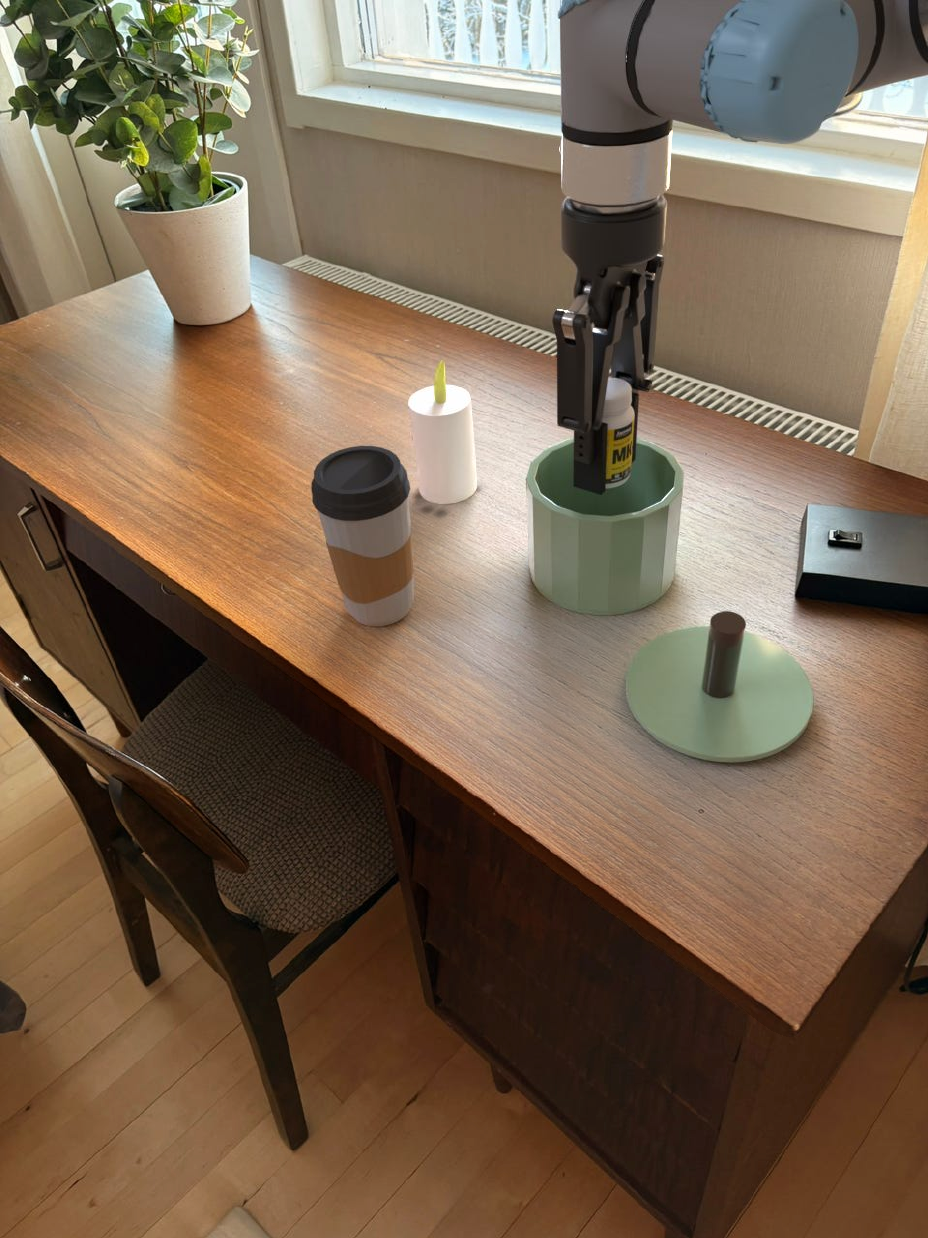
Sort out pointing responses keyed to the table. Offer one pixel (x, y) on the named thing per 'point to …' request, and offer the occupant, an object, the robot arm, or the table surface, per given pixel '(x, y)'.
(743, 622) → the lid
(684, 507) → the table surface
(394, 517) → the coffee cup
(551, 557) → the pot
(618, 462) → the supplement bottle
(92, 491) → the table surface
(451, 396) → the candle
